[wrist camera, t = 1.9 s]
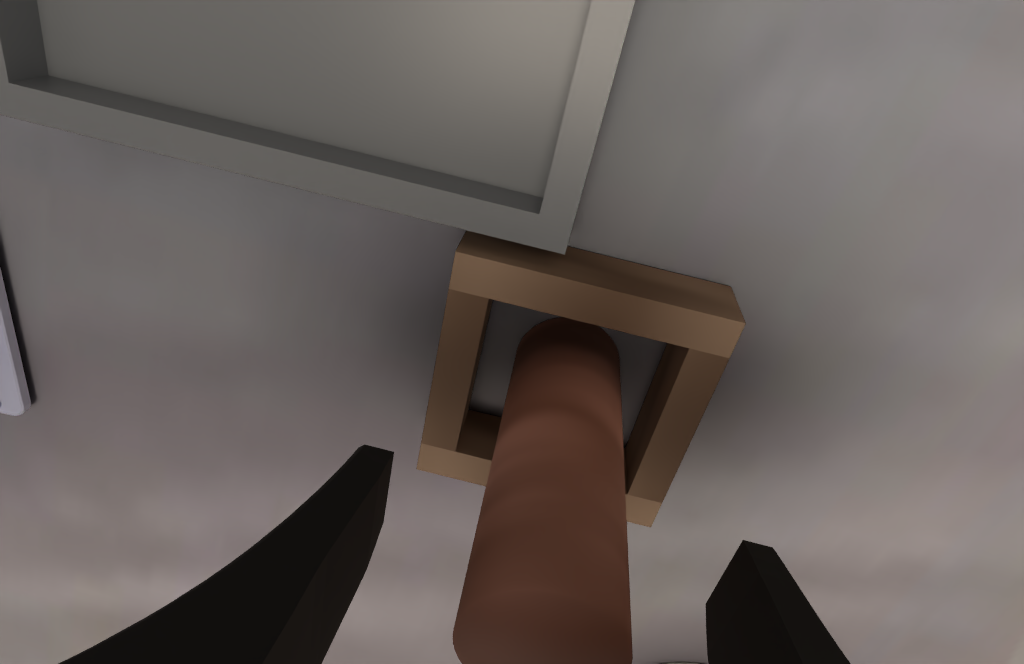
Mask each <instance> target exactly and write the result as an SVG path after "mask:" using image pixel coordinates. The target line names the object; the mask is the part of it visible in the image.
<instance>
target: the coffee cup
mask: <svg viewBox="0 0 1024 664" xmlns="http://www.w3.org/2000/svg"><path fill="white" fill-rule="evenodd" d="M664 664H698V663H664Z"/></svg>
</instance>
